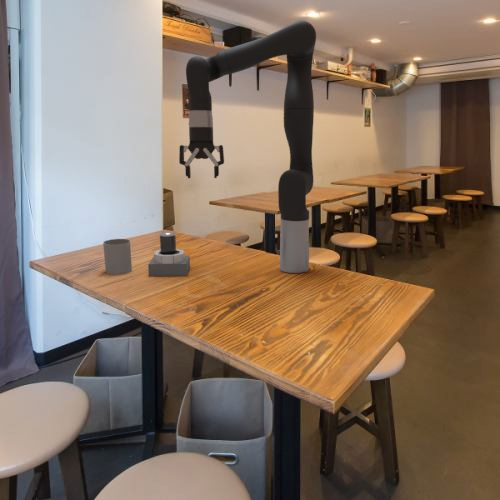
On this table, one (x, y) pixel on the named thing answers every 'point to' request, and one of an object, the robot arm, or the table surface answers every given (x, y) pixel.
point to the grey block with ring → (169, 264)
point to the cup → (117, 256)
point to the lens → (168, 242)
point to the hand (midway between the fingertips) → (202, 178)
